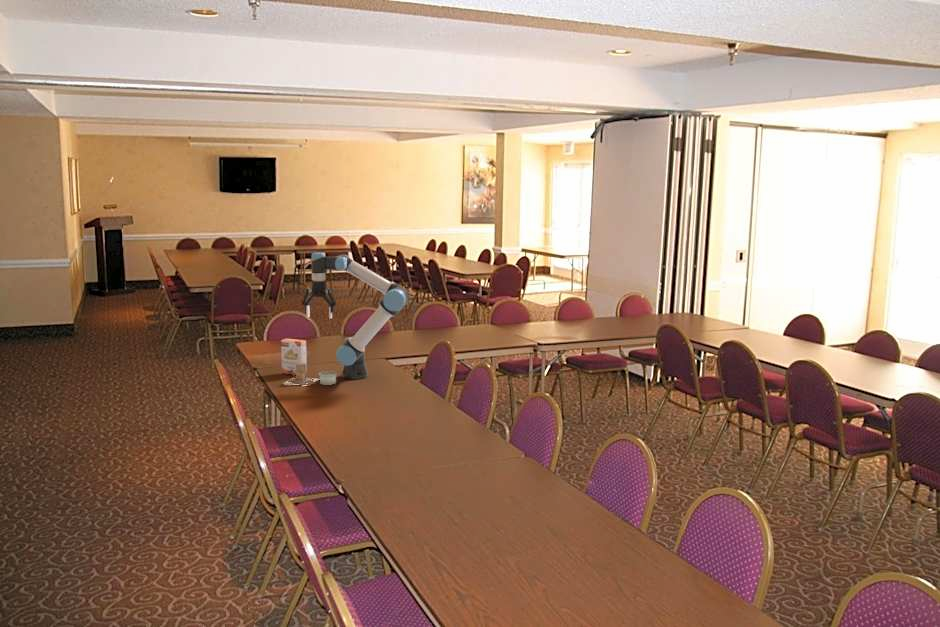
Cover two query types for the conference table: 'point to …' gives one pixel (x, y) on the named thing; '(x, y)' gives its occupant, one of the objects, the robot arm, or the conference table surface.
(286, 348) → the cracker box
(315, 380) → the mat
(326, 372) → the bowl
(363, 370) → the robot arm
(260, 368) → the conference table surface
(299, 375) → the lid
